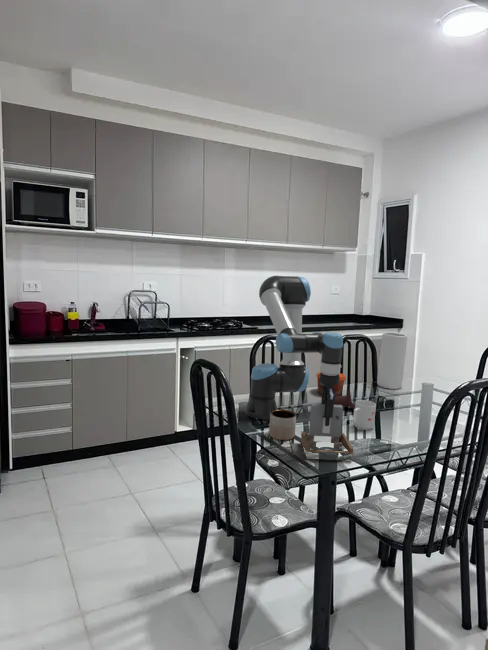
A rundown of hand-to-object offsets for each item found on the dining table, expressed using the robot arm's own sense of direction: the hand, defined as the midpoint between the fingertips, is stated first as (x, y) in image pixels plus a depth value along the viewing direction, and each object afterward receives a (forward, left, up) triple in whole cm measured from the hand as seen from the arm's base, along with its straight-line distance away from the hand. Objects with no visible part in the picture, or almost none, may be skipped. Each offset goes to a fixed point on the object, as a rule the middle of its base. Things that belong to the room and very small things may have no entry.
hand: (324, 430), depth 180 cm
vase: (+57, +92, -7) cm, 109 cm away
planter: (-16, +10, -7) cm, 20 cm away
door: (0, 0, -2) cm, 2 cm away
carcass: (0, -4, -7) cm, 8 cm away
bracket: (+23, +48, -7) cm, 53 cm away
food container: (+17, +72, -7) cm, 74 cm away
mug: (+21, +23, -7) cm, 32 cm away
